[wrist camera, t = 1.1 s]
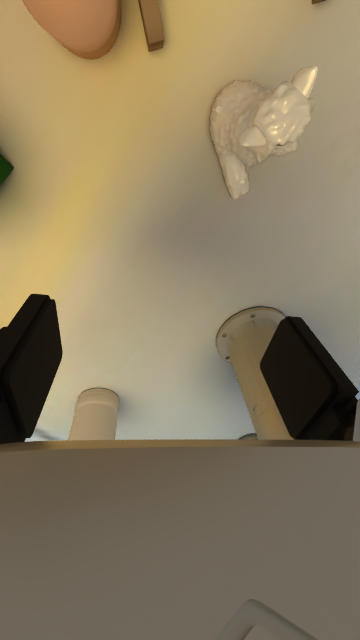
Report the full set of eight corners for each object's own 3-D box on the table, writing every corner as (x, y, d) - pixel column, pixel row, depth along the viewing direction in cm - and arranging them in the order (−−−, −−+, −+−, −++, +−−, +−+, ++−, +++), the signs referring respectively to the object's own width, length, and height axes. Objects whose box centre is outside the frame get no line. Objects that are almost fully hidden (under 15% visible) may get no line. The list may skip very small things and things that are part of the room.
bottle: (116, 412, 54) (94, 636, 31) (77, 410, 52) (21, 647, 29) (121, 388, 50) (99, 631, 26) (78, 385, 48) (13, 644, 24)
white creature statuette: (233, 200, 30) (272, 237, 21) (179, 141, 26) (197, 155, 17) (302, 125, 26) (387, 129, 17) (251, 43, 22) (327, -11, 13)
